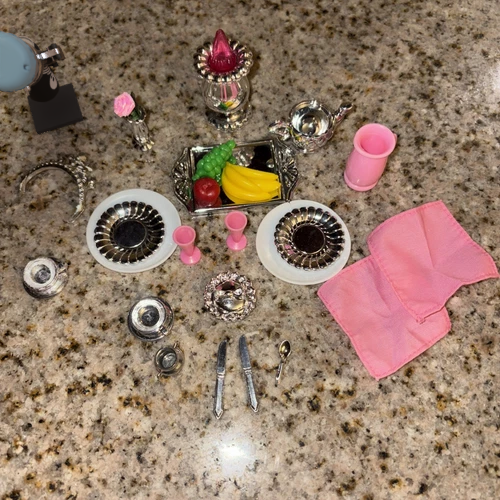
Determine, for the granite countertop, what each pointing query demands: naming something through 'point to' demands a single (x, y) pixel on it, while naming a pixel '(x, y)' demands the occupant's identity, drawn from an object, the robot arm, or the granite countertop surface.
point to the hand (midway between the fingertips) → (31, 65)
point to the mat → (56, 110)
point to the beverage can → (43, 81)
